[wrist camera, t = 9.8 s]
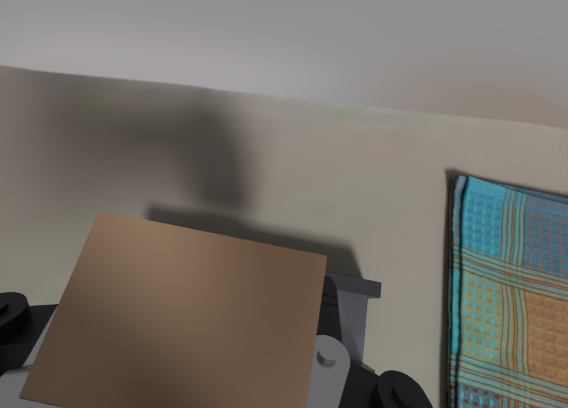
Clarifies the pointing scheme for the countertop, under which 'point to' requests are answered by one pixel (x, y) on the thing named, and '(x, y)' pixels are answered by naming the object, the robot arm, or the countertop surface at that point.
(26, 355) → the robot arm
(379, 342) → the countertop surface
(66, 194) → the countertop surface
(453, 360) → the dish towel
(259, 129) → the countertop surface
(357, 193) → the countertop surface
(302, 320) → the tan wooden pillar block
